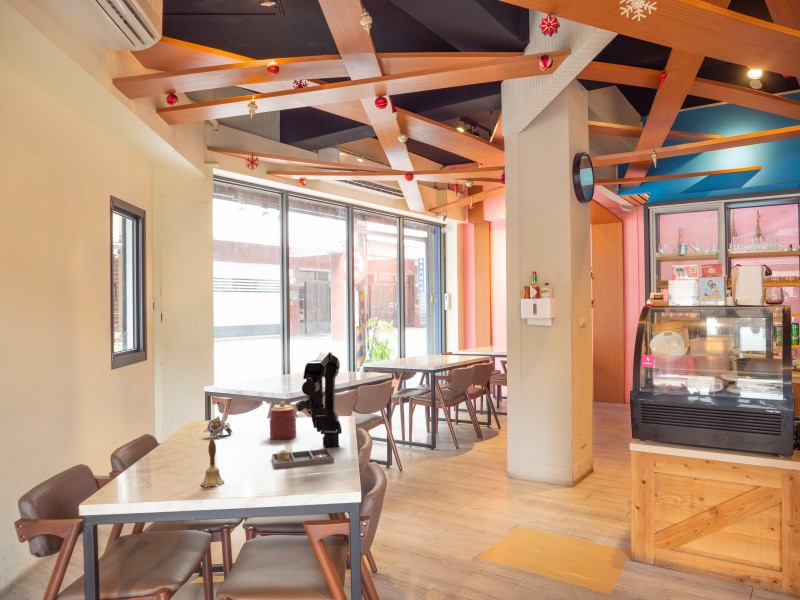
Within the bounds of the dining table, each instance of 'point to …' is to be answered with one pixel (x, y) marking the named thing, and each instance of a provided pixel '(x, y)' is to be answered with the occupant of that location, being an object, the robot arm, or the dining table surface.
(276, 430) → the canister
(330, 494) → the dining table surface
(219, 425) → the passion flower
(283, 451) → the letter cube
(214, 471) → the hand bell
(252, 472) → the dining table surface
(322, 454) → the peach egg shape
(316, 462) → the organizer tray
